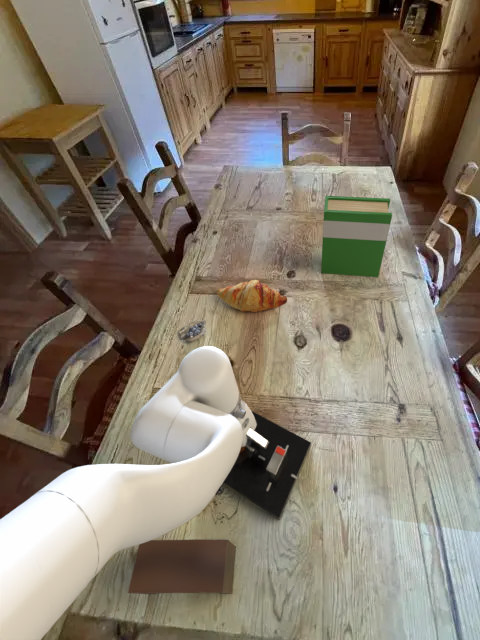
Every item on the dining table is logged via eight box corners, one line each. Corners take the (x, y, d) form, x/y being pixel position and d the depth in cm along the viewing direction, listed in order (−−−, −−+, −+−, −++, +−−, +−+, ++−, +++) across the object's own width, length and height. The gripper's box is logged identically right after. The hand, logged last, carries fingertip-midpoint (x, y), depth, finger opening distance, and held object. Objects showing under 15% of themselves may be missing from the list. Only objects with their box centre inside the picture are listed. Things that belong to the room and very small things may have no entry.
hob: (281, 521, 63) (280, 519, 61) (201, 470, 69) (199, 467, 67) (312, 447, 72) (312, 442, 70) (239, 407, 78) (237, 403, 76)
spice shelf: (232, 593, 56) (222, 592, 50) (148, 594, 57) (127, 593, 50) (236, 546, 61) (227, 539, 54) (158, 547, 61) (140, 540, 54)
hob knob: (276, 481, 65) (275, 474, 62) (267, 476, 66) (265, 468, 62) (287, 458, 68) (286, 449, 64) (278, 453, 69) (277, 444, 65)
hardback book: (377, 260, 110) (389, 198, 93) (378, 277, 105) (392, 215, 88) (322, 256, 112) (325, 195, 95) (320, 273, 107) (323, 211, 90)
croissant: (217, 310, 102) (208, 306, 94) (223, 278, 105) (214, 271, 97) (286, 318, 99) (283, 314, 91) (291, 284, 102) (287, 278, 94)
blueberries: (174, 338, 92) (173, 334, 91) (192, 315, 97) (191, 311, 96) (195, 347, 90) (193, 343, 88) (212, 323, 95) (211, 319, 93)
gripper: (274, 404, 56) (279, 440, 68) (190, 361, 62) (209, 401, 74) (250, 450, 51) (260, 479, 63) (162, 399, 57) (187, 434, 69)
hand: (233, 437), depth 68 cm, fingers open, 9 cm apart
